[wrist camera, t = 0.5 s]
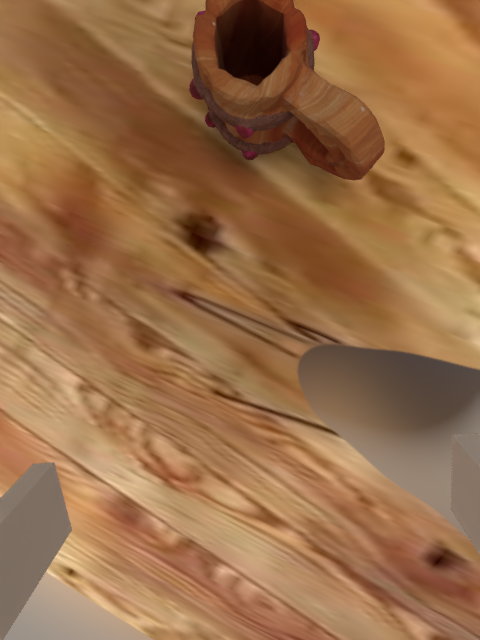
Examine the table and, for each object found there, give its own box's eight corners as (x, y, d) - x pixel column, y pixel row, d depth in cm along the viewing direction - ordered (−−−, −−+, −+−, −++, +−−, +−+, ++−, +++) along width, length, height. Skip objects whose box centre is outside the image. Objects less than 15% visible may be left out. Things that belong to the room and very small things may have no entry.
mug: (188, 114, 36) (135, 40, 21) (245, 32, 34) (230, -112, 19) (311, 219, 37) (340, 217, 23) (372, 146, 35) (446, 93, 21)
